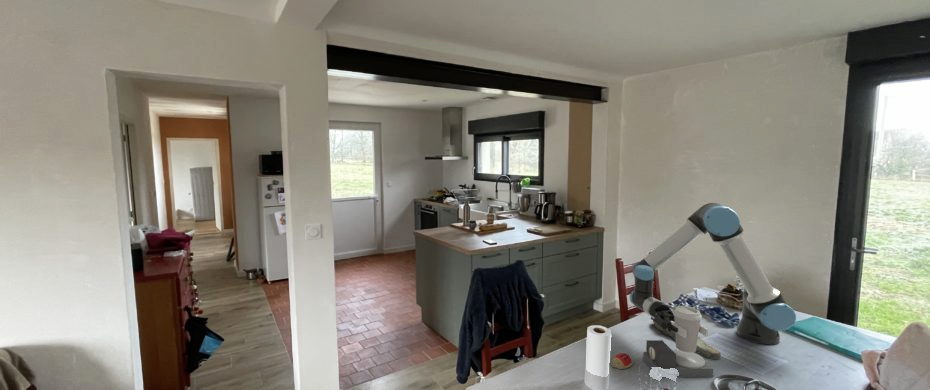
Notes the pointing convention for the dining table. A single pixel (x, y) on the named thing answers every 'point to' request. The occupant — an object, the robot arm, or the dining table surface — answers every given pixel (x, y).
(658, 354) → the kitchen scale
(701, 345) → the elongated rock
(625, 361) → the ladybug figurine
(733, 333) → the dining table surface
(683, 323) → the coffee cup
